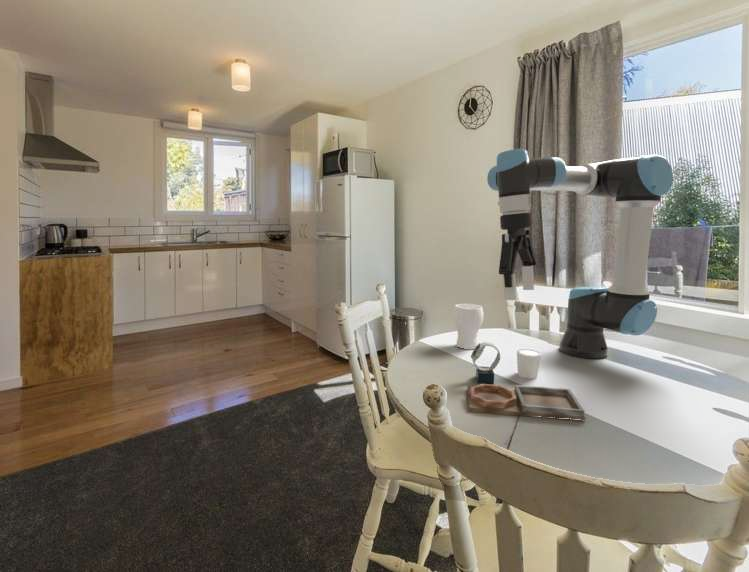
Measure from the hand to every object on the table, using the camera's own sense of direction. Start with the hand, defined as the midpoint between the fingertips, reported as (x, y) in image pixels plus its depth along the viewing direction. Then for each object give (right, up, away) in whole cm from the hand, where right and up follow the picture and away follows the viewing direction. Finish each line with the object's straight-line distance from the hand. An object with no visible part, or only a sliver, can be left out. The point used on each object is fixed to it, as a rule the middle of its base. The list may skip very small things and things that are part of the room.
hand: (520, 294), depth 109 cm
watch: (-7, -25, +11) cm, 28 cm away
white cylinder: (+8, -25, +15) cm, 30 cm away
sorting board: (-1, -27, -5) cm, 28 cm away
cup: (-4, -20, +42) cm, 47 cm away
